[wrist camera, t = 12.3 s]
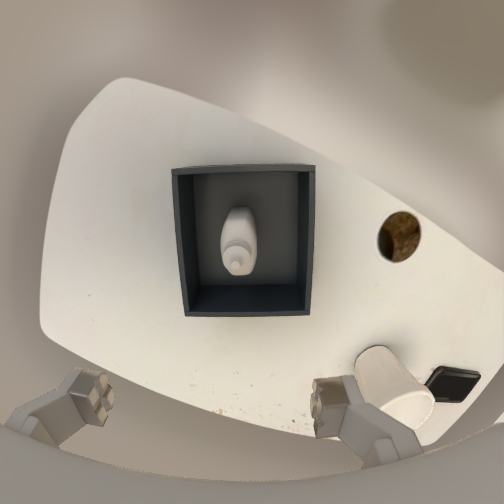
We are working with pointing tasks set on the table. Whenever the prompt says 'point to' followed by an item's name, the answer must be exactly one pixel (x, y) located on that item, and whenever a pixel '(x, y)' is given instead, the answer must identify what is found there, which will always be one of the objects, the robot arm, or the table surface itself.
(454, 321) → the table surface
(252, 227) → the eye dropper bottle
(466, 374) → the phone
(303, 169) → the bin
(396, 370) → the cup
